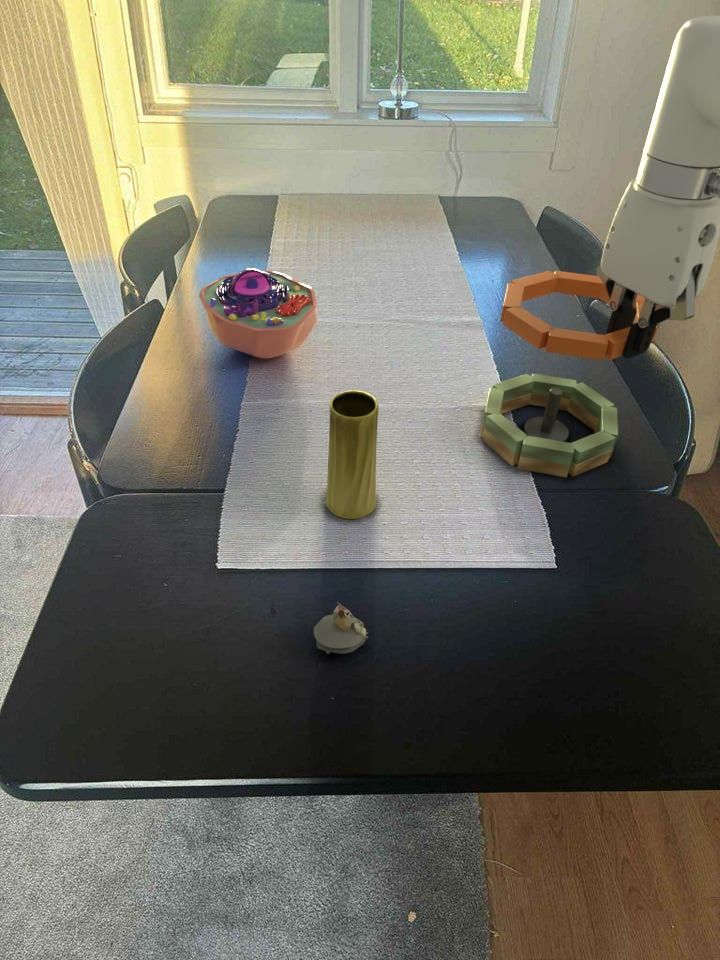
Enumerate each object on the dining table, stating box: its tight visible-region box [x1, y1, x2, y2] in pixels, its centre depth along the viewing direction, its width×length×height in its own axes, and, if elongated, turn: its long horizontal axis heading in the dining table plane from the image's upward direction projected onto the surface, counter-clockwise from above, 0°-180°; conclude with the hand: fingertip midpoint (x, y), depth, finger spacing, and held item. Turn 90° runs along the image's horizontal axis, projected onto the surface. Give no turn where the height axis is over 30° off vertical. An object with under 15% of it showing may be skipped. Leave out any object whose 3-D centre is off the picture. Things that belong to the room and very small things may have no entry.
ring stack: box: [480, 373, 619, 478], centre depth 93 cm, size 17×17×7 cm
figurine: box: [313, 602, 369, 655], centre depth 66 cm, size 5×4×6 cm
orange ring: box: [500, 270, 659, 361], centre depth 81 cm, size 17×17×2 cm
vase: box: [325, 390, 379, 520], centre depth 79 cm, size 6×6×14 cm
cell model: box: [198, 267, 318, 360], centre depth 107 cm, size 17×20×11 cm
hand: (624, 347), depth 77 cm, fingers closed on orange ring, 2 cm apart
